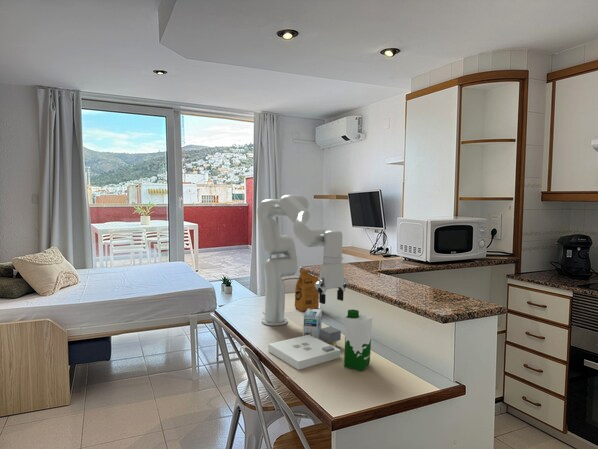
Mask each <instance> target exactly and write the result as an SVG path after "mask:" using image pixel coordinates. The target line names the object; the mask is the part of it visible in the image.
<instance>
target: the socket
mask: <svg viewBox="0 0 598 449" xmlns="http://www.w3.org/2000/svg"><path fill="white" fill-rule="evenodd" d="M267 352H269V353H270V354H272V355H273V356H275V357H277V358H279V359H280V360H282V361H283V362H285V363H286V364H288V365H289V366H291V367H293V368H294V369H297V370H303V369H306V368H309V367H312V366H313V367H314V366H316V365H319V364H323V363H326V362H330V361H334V360H336V359H339V358H341V352H342V351H341V349H339V348H338V347H334V346H332V345H331V344H330V343H328V342H326V343H325V342H323V341H321V339H320V338H319V339H317V338H315V337H313V336H311V335H305V336H303V335H302V336H297V337H292V338H287V339H285V340H284V339H283V340H279V341H276V342H275V341H274V342H270V343H268V350H267Z"/></svg>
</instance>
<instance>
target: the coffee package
mask: <svg viewBox="0 0 598 449" xmlns="http://www.w3.org/2000/svg"><path fill="white" fill-rule="evenodd" d="M310 270H311V269H299V277H298V279H297V281H296V284H295V290H294V307H295V309H297V310H298V311H301V312H306V311H307V309H308V308H310V309H319V305H320V304H319V303H320V302H319V293H318V291H317V290H316V287H315V283H316V282H317V281H319V276H318V277H315V276H312V275H310V274H308V272H309V271H310Z"/></svg>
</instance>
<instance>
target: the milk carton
mask: <svg viewBox="0 0 598 449" xmlns="http://www.w3.org/2000/svg"><path fill="white" fill-rule="evenodd" d="M359 313H360V310H357V309H348V310H347V316H345V317H344V328H345V329H344V331H345V332H344V355H343V356H344V358H343V367H344V368H348V369H351V370H356V371H359V372H364V371H365V369H366V368H368V367H369V366H370V363H371V362H370V361H371V351H372V350H371V349H372V348H371V347H372V346H371V345H372V328H373V327H372V326H373V323H372V322H373V317H372V316H368V315H365V314H359Z"/></svg>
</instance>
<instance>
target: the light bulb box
mask: <svg viewBox="0 0 598 449" xmlns="http://www.w3.org/2000/svg"><path fill="white" fill-rule="evenodd" d="M322 316H323V309H319V308H318V309H310V308H308V309H307V310H306V311H304V314H303V329H302V330H303V331H302V332H303V334H302V336H305V335H311V336H313V337H315V338H317V339H319V340H320V329H322V325H323V324H322V321H323V320H322V319H323V318H322Z"/></svg>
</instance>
